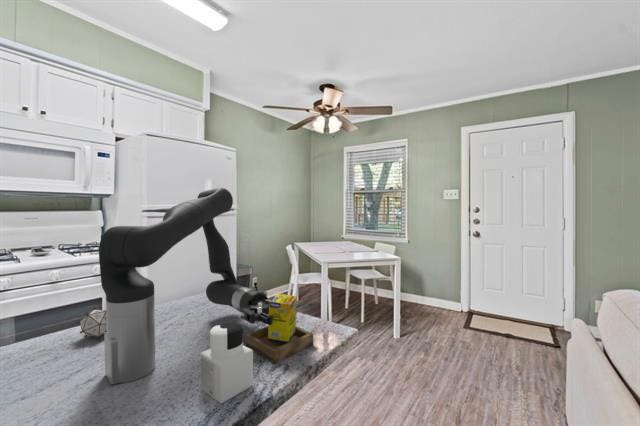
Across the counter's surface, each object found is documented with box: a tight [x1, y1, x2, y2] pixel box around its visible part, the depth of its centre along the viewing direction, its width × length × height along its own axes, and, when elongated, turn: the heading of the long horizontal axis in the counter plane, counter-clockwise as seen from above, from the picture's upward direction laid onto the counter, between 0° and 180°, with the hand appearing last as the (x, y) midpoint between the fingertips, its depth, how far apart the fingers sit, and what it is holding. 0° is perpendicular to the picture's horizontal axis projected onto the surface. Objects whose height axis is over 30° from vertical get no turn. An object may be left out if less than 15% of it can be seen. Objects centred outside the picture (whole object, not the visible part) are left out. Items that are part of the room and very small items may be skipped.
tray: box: [244, 325, 314, 364], centre depth 79 cm, size 13×13×3 cm
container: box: [200, 321, 254, 404], centre depth 61 cm, size 8×8×13 cm
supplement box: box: [267, 293, 298, 344], centre depth 79 cm, size 6×6×11 cm
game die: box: [76, 306, 107, 340], centre depth 85 cm, size 9×8×10 cm
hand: (283, 316), depth 78 cm, fingers closed on supplement box, 8 cm apart
